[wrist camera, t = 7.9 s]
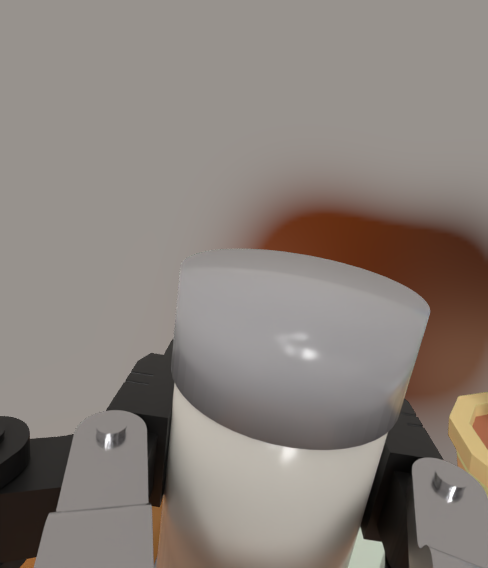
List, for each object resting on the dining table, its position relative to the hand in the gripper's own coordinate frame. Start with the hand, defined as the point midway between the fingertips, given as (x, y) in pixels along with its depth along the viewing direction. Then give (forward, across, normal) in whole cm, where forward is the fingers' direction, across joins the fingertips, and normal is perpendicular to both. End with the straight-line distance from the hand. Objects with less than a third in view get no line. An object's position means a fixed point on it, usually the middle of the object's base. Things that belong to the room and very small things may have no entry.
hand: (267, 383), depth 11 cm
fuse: (-3, 0, +6) cm, 7 cm away
